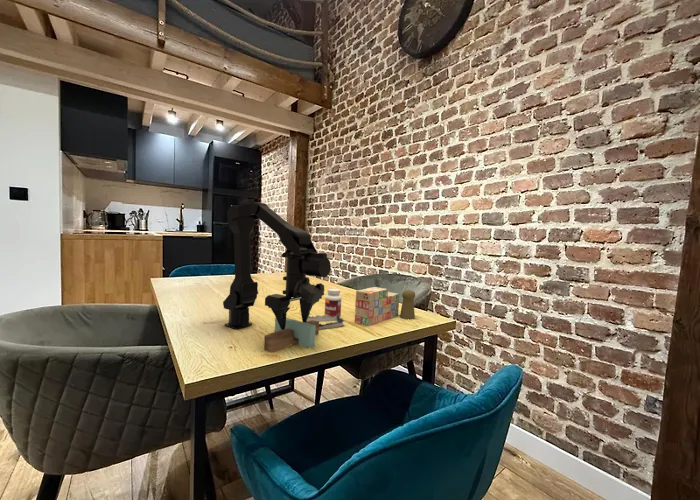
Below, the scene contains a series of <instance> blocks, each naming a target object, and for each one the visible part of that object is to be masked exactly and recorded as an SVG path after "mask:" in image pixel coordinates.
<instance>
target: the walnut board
mask: <svg viewBox="0 0 700 500" xmlns="http://www.w3.org/2000/svg"><path fill="white" fill-rule="evenodd" d="M306 323H309V324H312V325H316V328H315V336H316V335H319V334H320V333H319V331H320V329H319V324H320V322H319V321H315V320H310V321H307V322H306ZM293 335H294V330H290V329H287V328H286V329H285V330H279V331H276V332H275V331H274V332H271V333H268V334H265V335H264V341H263V342H264V344H263V350H264V351H267V352H269V353H274V352H276V351H279V350H282V349H284V348H288V347H289V346H292V345H294V344H297V343H299V339H298V338H295V337H293Z"/></svg>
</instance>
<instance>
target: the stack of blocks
mask: <svg viewBox="0 0 700 500" xmlns="http://www.w3.org/2000/svg"><path fill="white" fill-rule="evenodd" d="M354 305H355V306H354V307H355V309H354V310H355V313H354V323H355V324H358V325H362V326H365V327H371V326H373V325H377V324H380V323H382V322H385V321H387V320H390V319H392V318H396V317H398V316H399V307H400V306H399V305H400V293H396V292H392V291H390V292H389V289H388V288H384V287H379V286H373V287H368V288H363V289H358V290H356V291H355V304H354Z"/></svg>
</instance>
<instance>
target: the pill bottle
mask: <svg viewBox="0 0 700 500" xmlns="http://www.w3.org/2000/svg"><path fill="white" fill-rule="evenodd" d="M340 293H341V289H339V288H328V289H327V294H326V295H325V298H324V299H325V300H324V301H325V302H324V315H328V316H329V317H333V316H336V315H337V314H338V315H339V317H340V318H341V315H342V313H341V312H342V296H341V295H340Z"/></svg>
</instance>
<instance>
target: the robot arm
mask: <svg viewBox="0 0 700 500" xmlns="http://www.w3.org/2000/svg"><path fill="white" fill-rule="evenodd" d="M226 217H227V224H228V227H229V228H230V230H231V232H232V233H233V247H234V248H233V251H234V253H233V254H234V258H233V259H234V278H233V280H232V283H231V284H230V287H229V294H228V296H226V298H224V300H223V301H222V305H223V310H224V309H225V310H228V322H227V323H224V326H226V327H228V328H231V329H235V330H239V329H242V328H246V327H250V326H252V325H253V323H252V322H250V308H251V307H254V305H255V303H256V300H257V298H258V294H259V290H258V287H259V286H258V285H259V283H258V282H257V281H254V279H253V278H252V267H251V238H250V237H251V236H250V235H251V233H252V230H253V229H254V226H255V221H257V220H261V221H262V222H263V224H265V225H266V226H267V227H269V229H271V230H272V231H273V232H274V233H276V235H277V236H278V237H279V241H280V243H282V245H283V246H284V248H285V251H284V252H283V253H282V254H281V255H280V257H281V258H285V259H286V272H285V276H283V277H282V281H285V289H284V290H282V294H280V293H274V294H270V295H269V294H268V295H267V296H266V297H265V298H264V306H266V307H268V309H271V311H272V313H273V315H274V316H275V318H276V319H277V321H278V323H279V326H280V328H281V329H282V330H285V325H286V318H287V313H288V312H289V310H290V309H291V307H290V304H291V302H294V301H298V300H299V307H300V308H299V309H300V313H301V314H300V315H301V322H305V323H306V321H307V319H308V316H310V314H311V311H312V308H313V307H314V305H315V304H316V303H318V302H319V301H320V300H322V298H323V296H324V295H325V285H324V284H323V283H316V284H311V283H310V281H311V279H310V277H316V278H317V277H318V278H323V279H324V278H326V277H328V276H329V275H330V272H331V269H332V264H331V262H330V259H329V258H328V253H327V252H318V250H317V249H316V247H315V245H314V243H313V242H312V239H311V237H312V236H311V235H310V233H309V232H308V231H305V230H304V229H302V228H300V227H297V226H295V225H292V224H291V223H289V222H287V221H286V220H285V219H284V218H283V217H281V216H280V215H279V214H278V213H276V211H274V210H273V209H271V208H270V207H269V205H268V204H267V203H265V202H264V203H263V202H258V201H254V202H251V203H248V204H243V205H233V206H231V207H229V209H228V210H227V213H226ZM307 276H310V277H307Z"/></svg>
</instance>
